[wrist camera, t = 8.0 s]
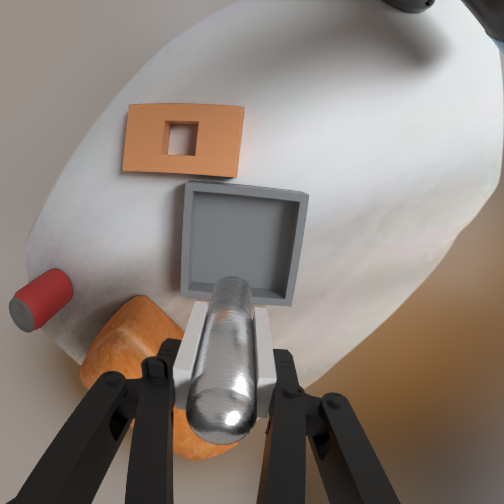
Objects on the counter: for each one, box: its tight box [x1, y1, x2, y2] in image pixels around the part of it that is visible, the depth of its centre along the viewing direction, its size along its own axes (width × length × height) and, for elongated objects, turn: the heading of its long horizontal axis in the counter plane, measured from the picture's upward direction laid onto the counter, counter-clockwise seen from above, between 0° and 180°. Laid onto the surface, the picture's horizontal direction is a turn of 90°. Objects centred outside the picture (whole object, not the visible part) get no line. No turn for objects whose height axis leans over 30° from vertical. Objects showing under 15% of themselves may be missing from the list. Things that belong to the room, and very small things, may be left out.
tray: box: [180, 181, 309, 306], centre depth 38 cm, size 15×15×4 cm
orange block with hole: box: [122, 103, 244, 178], centre depth 34 cm, size 15×9×3 cm, turn 84°
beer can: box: [9, 269, 73, 333], centre depth 36 cm, size 7×7×12 cm
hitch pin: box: [185, 276, 257, 445], centre depth 16 cm, size 3×3×14 cm
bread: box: [79, 295, 240, 461], centre depth 38 cm, size 14×26×16 cm, turn 40°
